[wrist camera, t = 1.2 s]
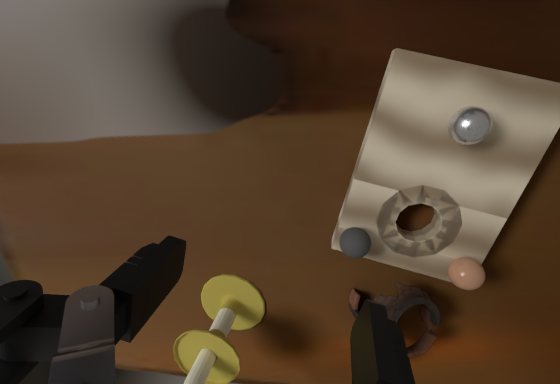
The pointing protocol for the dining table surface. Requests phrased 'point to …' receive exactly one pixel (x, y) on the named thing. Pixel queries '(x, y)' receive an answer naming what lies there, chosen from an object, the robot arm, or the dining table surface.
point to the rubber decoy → (355, 242)
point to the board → (445, 160)
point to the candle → (219, 330)
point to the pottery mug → (398, 306)
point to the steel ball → (470, 125)
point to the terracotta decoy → (466, 273)
